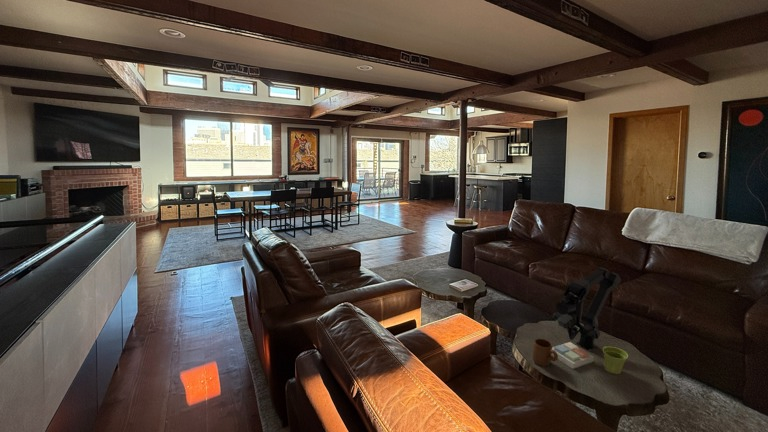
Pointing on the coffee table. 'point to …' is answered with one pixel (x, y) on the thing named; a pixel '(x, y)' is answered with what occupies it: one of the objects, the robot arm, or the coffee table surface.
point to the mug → (543, 352)
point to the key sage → (572, 356)
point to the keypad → (575, 363)
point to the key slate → (561, 349)
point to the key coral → (581, 353)
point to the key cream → (570, 346)
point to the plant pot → (614, 359)
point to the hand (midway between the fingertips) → (571, 339)
